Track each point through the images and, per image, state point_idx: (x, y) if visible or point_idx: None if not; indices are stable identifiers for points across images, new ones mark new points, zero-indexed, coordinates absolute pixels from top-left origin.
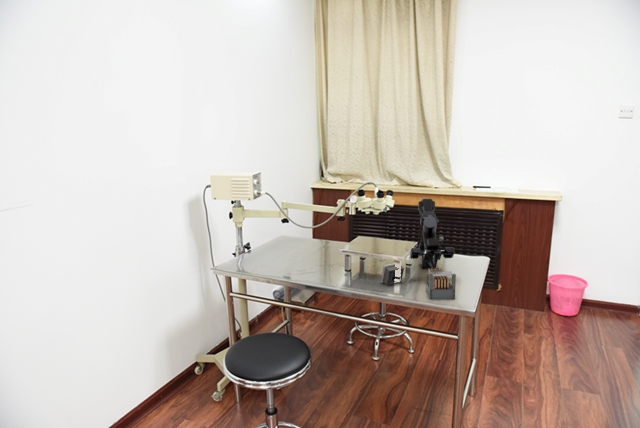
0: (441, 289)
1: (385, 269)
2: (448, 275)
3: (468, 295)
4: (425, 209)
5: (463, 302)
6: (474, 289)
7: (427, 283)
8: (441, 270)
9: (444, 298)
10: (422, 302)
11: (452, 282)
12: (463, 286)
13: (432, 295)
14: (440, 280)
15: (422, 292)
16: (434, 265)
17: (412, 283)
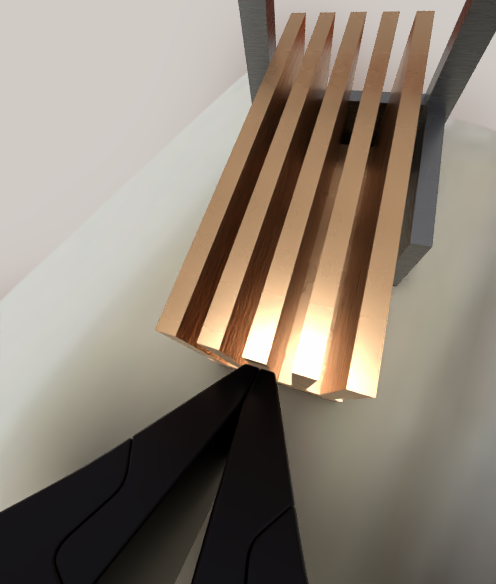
0: (353, 93)
1: None
2: None
3: (168, 174)
4: None
5: (246, 112)
6: (80, 235)
7: (431, 206)
8: (217, 234)
9: None
10: (479, 132)
11: (274, 20)
12: (99, 292)
13: None
14: (355, 61)
15: (435, 266)
16: (233, 407)
17: (486, 508)
